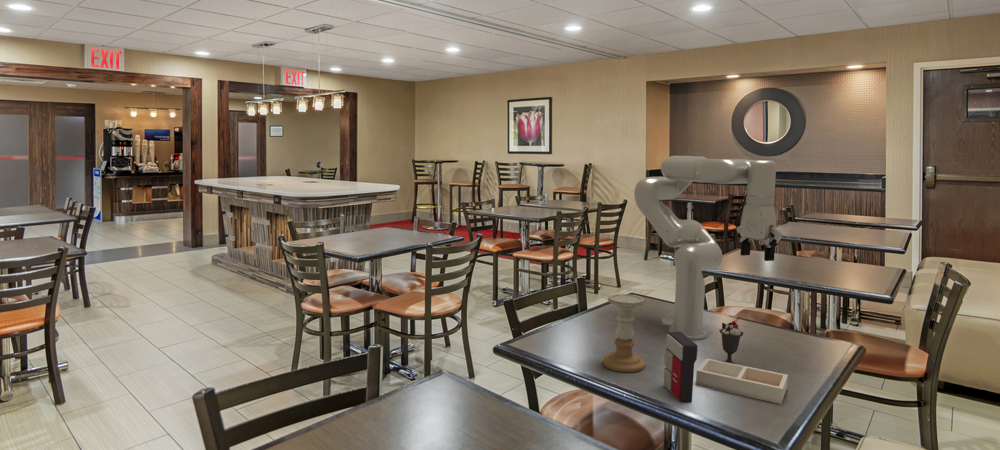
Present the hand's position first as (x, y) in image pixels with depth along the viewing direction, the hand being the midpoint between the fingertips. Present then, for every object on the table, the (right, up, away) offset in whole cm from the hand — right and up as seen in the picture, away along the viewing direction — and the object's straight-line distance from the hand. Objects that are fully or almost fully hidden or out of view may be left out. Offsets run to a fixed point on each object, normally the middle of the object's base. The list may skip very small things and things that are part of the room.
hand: (756, 257), depth 172 cm
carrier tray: (-13, -34, -19) cm, 41 cm away
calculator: (-32, -34, -24) cm, 52 cm away
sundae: (-10, -32, -4) cm, 34 cm away
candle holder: (-41, -32, -5) cm, 52 cm away
